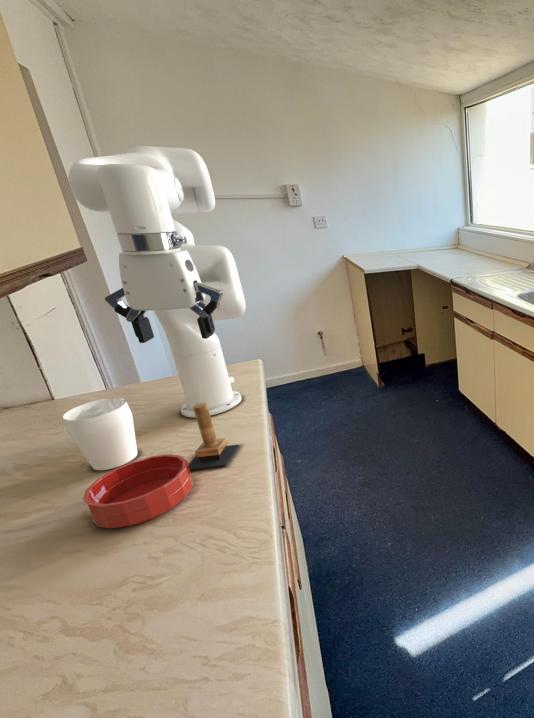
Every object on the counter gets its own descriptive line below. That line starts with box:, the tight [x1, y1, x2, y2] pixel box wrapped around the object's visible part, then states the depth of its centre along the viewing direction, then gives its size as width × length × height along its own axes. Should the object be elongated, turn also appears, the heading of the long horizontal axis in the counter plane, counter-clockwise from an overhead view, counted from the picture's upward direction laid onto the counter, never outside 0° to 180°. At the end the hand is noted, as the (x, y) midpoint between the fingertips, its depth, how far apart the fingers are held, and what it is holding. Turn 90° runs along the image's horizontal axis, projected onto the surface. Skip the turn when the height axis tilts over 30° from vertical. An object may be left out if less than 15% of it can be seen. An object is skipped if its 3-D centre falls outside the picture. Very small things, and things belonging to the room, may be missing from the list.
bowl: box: [82, 453, 194, 529], centre depth 69 cm, size 13×13×5 cm
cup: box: [62, 397, 138, 471], centre depth 79 cm, size 9×9×12 cm
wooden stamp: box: [193, 403, 228, 462], centre depth 80 cm, size 4×4×12 cm
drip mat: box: [188, 444, 240, 472], centre depth 81 cm, size 7×7×1 cm
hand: (178, 338), depth 73 cm, fingers open, 9 cm apart
